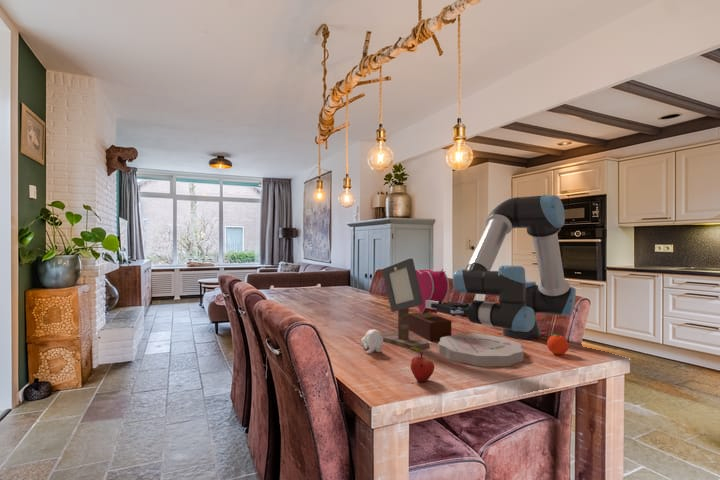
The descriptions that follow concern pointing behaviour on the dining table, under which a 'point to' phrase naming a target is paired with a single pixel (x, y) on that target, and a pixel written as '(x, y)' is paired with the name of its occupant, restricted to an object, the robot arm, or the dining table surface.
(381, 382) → the dining table surface
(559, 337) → the clementine
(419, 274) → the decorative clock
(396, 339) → the display stand
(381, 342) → the white animal figurine
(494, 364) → the decorative plaque
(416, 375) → the apple
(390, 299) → the picture frame
